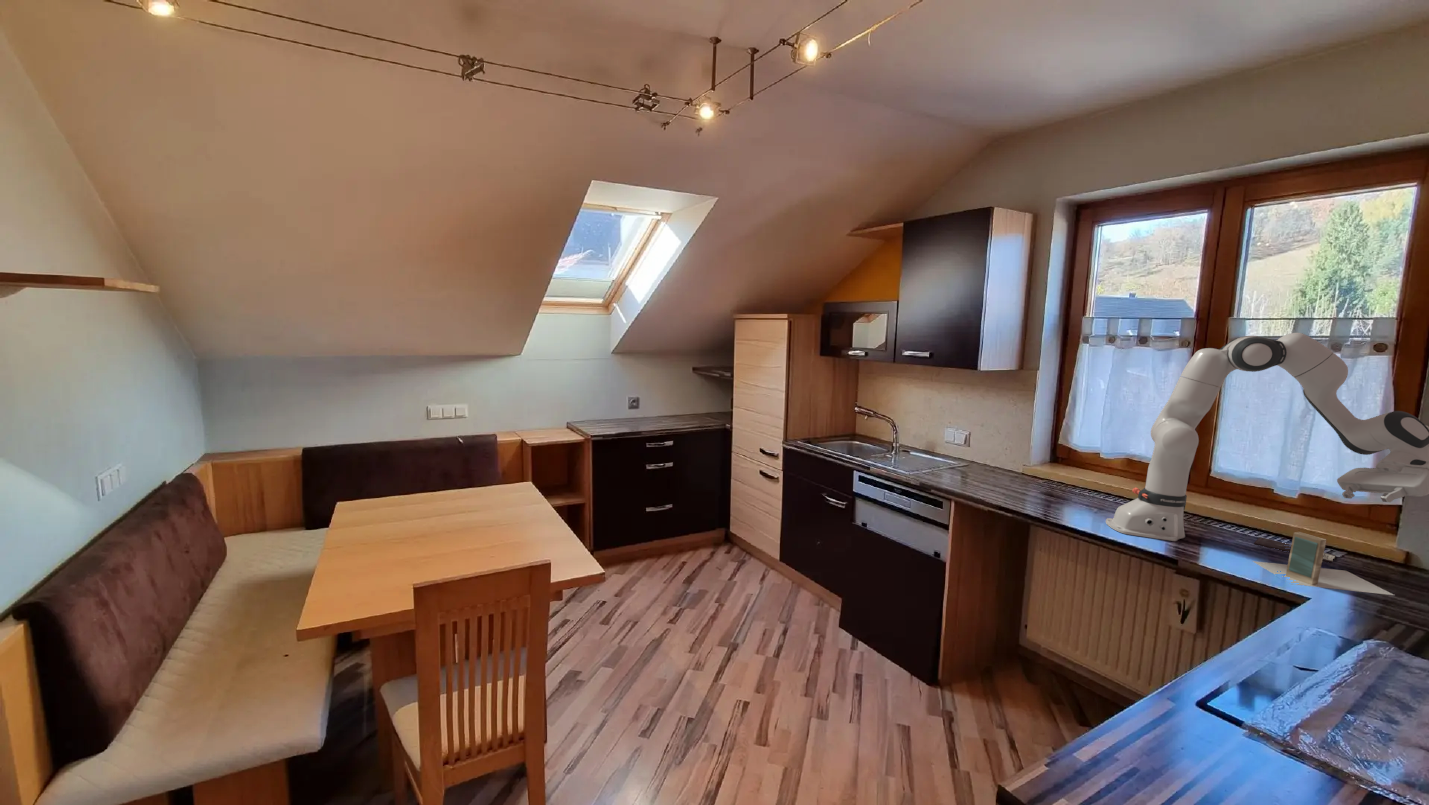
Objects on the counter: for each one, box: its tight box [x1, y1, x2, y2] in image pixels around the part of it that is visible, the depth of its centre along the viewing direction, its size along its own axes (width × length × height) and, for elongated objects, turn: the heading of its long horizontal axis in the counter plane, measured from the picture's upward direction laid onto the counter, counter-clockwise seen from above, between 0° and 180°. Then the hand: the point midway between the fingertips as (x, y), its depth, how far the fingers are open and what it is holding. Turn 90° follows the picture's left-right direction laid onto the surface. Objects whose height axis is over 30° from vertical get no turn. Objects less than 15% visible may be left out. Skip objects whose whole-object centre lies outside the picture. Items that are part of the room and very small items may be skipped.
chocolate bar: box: [1253, 536, 1336, 564], centre depth 193 cm, size 9×1×18 cm
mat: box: [1252, 560, 1394, 596], centre depth 171 cm, size 24×16×1 cm, turn 79°
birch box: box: [1286, 531, 1327, 585], centre depth 167 cm, size 3×6×13 cm, turn 19°
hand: (1364, 498), depth 168 cm, fingers open, 8 cm apart
